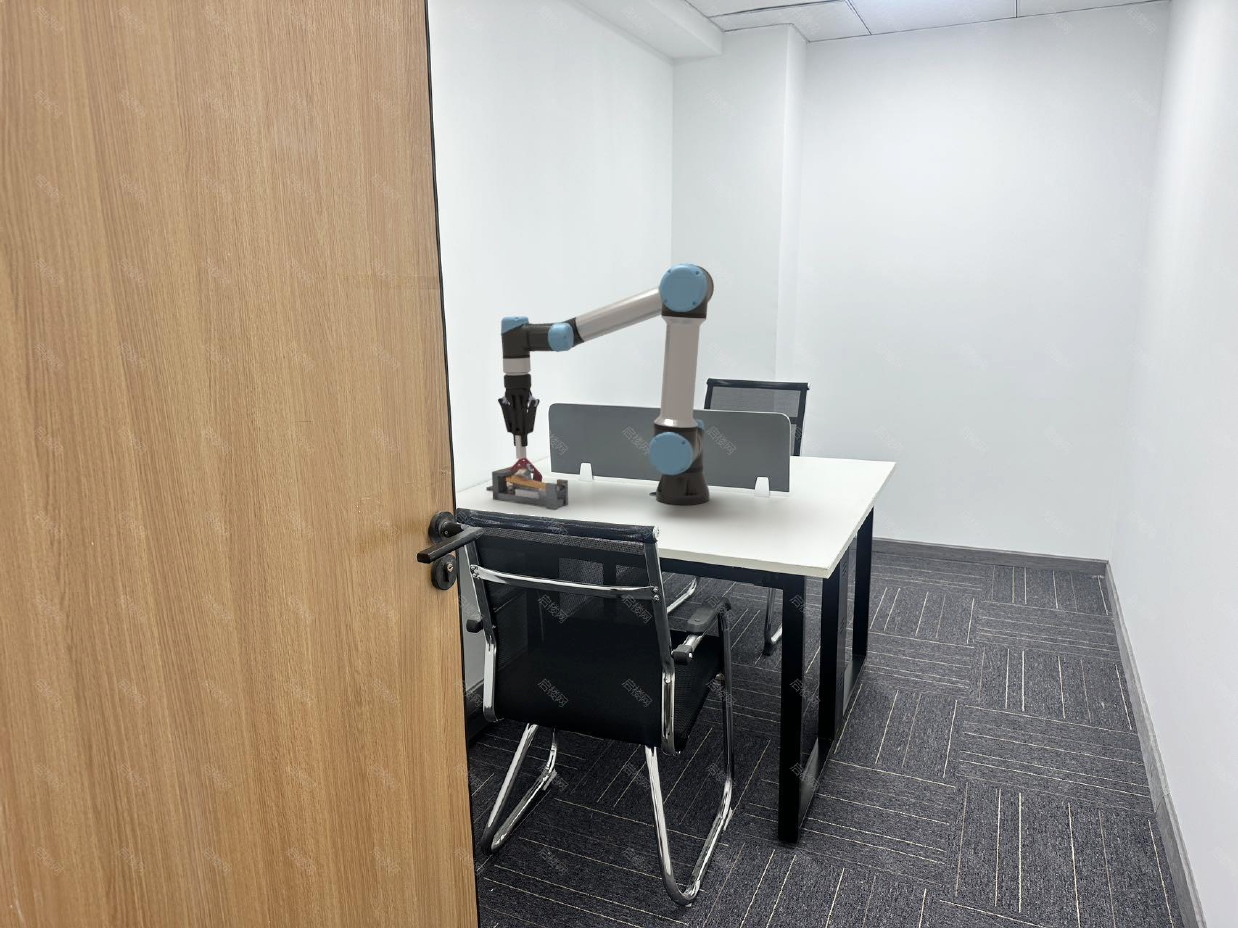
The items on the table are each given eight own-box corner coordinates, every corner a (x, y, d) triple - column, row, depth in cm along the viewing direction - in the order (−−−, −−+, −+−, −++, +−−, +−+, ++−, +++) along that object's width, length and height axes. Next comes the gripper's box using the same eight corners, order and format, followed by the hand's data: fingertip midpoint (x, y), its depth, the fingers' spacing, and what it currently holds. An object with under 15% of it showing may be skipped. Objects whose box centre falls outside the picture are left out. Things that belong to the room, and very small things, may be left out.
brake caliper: (548, 480, 253) (541, 454, 244) (541, 509, 246) (534, 483, 237) (511, 479, 255) (503, 453, 246) (504, 508, 248) (495, 481, 239)
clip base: (568, 504, 234) (567, 476, 232) (555, 509, 228) (554, 480, 227) (504, 495, 245) (503, 468, 243) (490, 499, 240) (489, 472, 238)
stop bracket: (524, 484, 259) (523, 465, 258) (499, 492, 249) (498, 472, 248) (511, 482, 262) (510, 463, 261) (486, 490, 252) (485, 470, 251)
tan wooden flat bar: (562, 490, 232) (562, 485, 232) (555, 492, 229) (555, 488, 229) (512, 479, 240) (512, 474, 240) (505, 481, 238) (505, 476, 237)
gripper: (544, 372, 231) (548, 457, 235) (506, 371, 237) (511, 454, 242) (528, 375, 225) (532, 462, 229) (489, 374, 231) (494, 458, 236)
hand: (521, 457), depth 235 cm, fingers closed
